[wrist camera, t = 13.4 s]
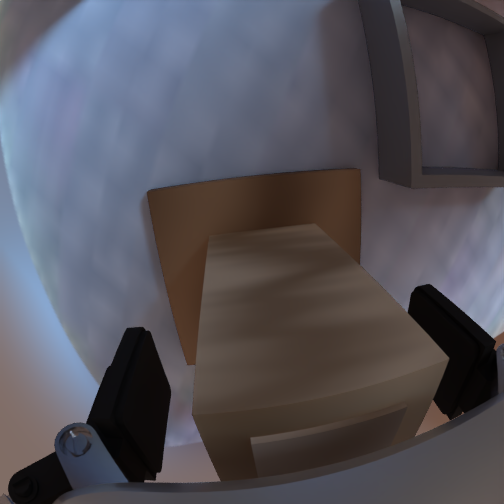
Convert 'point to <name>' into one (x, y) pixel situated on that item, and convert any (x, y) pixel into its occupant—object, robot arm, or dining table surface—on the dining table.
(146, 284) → the dining table surface
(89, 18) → the dining table surface
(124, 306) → the dining table surface
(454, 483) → the robot arm
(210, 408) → the beech block
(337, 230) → the walnut board
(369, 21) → the bin
